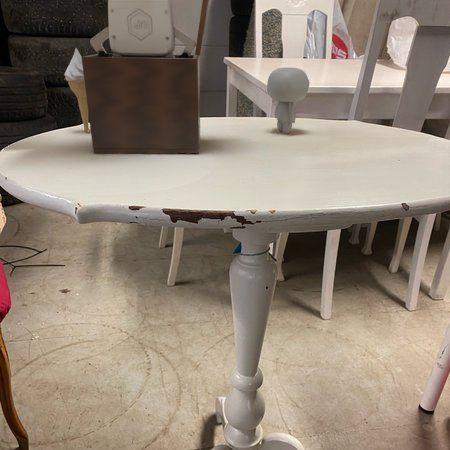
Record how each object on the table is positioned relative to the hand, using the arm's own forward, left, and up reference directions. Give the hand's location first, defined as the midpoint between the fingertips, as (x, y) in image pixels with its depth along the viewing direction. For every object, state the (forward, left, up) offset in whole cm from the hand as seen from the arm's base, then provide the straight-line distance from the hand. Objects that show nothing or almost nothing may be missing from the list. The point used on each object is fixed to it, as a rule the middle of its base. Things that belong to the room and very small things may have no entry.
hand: (146, 95), depth 79 cm
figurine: (+26, +14, -8) cm, 31 cm away
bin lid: (+10, 0, +16) cm, 19 cm away
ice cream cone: (-14, +12, -8) cm, 20 cm away
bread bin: (0, 0, -8) cm, 8 cm away
